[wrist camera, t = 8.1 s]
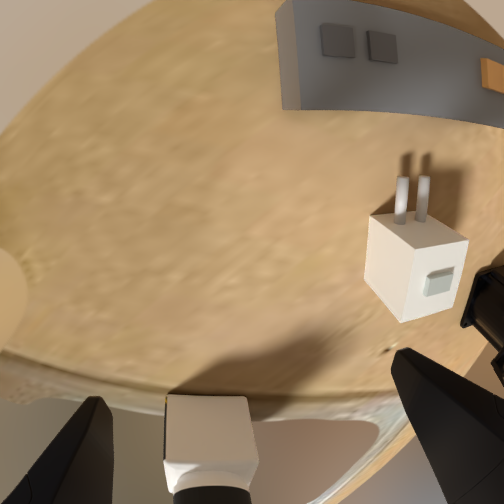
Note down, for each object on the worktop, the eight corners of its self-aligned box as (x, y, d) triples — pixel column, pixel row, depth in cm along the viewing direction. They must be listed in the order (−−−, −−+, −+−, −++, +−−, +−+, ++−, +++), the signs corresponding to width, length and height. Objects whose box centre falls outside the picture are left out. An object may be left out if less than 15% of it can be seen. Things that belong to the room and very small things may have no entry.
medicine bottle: (165, 392, 24) (163, 520, 14) (247, 394, 26) (272, 517, 15) (168, 433, 27) (170, 539, 17) (237, 435, 29) (255, 537, 18)
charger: (411, 269, 23) (455, 310, 18) (363, 279, 22) (403, 327, 17) (423, 170, 19) (481, 194, 14) (371, 171, 19) (426, 197, 14)
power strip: (477, 122, 18) (515, 131, 14) (282, 109, 16) (305, 110, 13) (474, 51, 15) (513, 50, 12) (275, 13, 14) (295, -11, 10)
